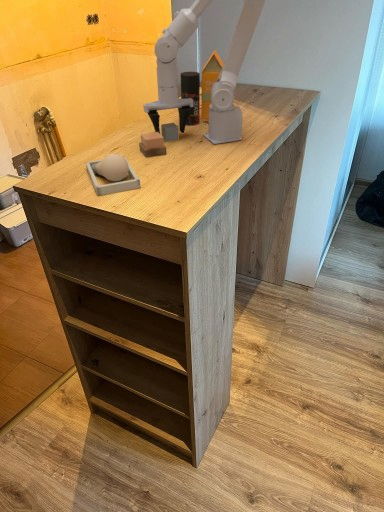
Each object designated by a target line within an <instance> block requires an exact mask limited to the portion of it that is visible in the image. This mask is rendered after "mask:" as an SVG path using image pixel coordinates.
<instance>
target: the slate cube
mask: <svg viewBox="0 0 384 512" xmlns="http://www.w3.org/2000/svg"><path fill="white" fill-rule="evenodd" d="M160 129H161V130H160V132H161V135H162V136H163V137H164V142H166V143H167V142H174V141H179V140H180V139H179V137H180V136H179V135H180V133H179V125H177V124H176V123H175V122H170V123H161V124H160Z"/></svg>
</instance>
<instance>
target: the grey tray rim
mask: <svg viewBox="0 0 384 512" xmlns="http://www.w3.org/2000/svg"><path fill="white" fill-rule="evenodd" d="M121 156H122V157H124V158H125V159H126V161H127V163H128V166H129V171H128V174H127V175H129V177H130V180H123V181H118V182H117V181H116V182H112V183H107V184H102V185H100V184H99V183H98V180H97V178H96V177H97V176H96V174H94V173H93V171H92V165H93V164H95V163H99V162H101V161H102V160H103V159H97V160H91V161H86V162H85V167H86V171H87V173H88V176H89V179H90V180H91V183H92V186H93V188H94V190H95V193H96V195H97V196H98V197H99V196H104V195H111V194H114V193H120V192H125V191H126V192H127V191H130V190H137V189H141V187H142V186H141V180H140V178H139V177H138V175H137V173H136V171H135V170H134V169H133V167H132V166H131V164H130V163H129V161H128V160H127V158H126V157H125V155H121Z"/></svg>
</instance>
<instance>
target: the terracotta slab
mask: <svg viewBox="0 0 384 512" xmlns="http://www.w3.org/2000/svg"><path fill="white" fill-rule="evenodd" d="M140 140H141V141H140V143H142V144H143V146H144V147H145V148H146V149H151V148H157V147H164V145H165V140H164V137H163V136H162V133H161V132H160V133H158V132H155V131H154V132H146V133H141V134H140Z"/></svg>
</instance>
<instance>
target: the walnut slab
mask: <svg viewBox="0 0 384 512" xmlns="http://www.w3.org/2000/svg"><path fill="white" fill-rule="evenodd" d="M138 146H139V151H140V152H141V154H142V155H143V156H144V158H146V159H147V158H152V157H159V156H166V155H167V146H166V145H165V144H164V147H157V148H151V149H146V148H145V147H144V146H143V144H142V143H141V142H139V143H138Z"/></svg>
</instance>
